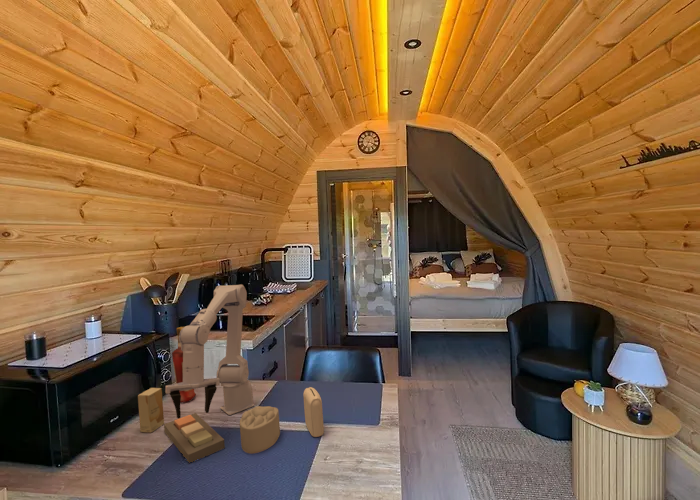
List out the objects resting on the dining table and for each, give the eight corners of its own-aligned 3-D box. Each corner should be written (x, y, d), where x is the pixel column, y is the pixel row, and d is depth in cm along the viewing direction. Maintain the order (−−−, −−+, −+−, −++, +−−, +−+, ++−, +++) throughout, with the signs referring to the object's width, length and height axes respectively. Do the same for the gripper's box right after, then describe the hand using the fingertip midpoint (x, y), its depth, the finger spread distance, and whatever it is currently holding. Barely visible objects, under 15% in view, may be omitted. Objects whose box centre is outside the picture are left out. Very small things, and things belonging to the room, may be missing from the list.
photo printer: (303, 423, 119) (301, 385, 118) (316, 420, 120) (314, 382, 120) (311, 439, 109) (309, 398, 109) (325, 435, 111) (323, 395, 110)
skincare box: (151, 433, 118) (148, 395, 118) (139, 432, 119) (136, 395, 119) (165, 423, 125) (162, 387, 124) (154, 422, 126) (151, 387, 125)
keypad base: (196, 420, 125) (195, 412, 125) (224, 448, 107) (224, 439, 107) (164, 431, 119) (163, 424, 119) (189, 463, 101) (188, 454, 101)
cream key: (198, 428, 116) (197, 421, 116) (203, 433, 113) (203, 427, 113) (181, 434, 113) (181, 428, 113) (186, 440, 109) (186, 434, 109)
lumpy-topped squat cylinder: (283, 429, 116) (281, 402, 116) (269, 454, 103) (266, 423, 103) (251, 429, 117) (249, 402, 117) (233, 453, 104) (231, 423, 104)
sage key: (206, 436, 111) (205, 429, 111) (212, 442, 107) (212, 435, 107) (189, 443, 108) (188, 436, 108) (194, 450, 104) (194, 443, 104)
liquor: (184, 395, 147) (178, 325, 145) (200, 395, 145) (194, 325, 144) (171, 403, 140) (165, 330, 138) (188, 404, 138) (182, 330, 137)
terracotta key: (190, 420, 122) (190, 414, 122) (196, 425, 118) (195, 419, 118) (174, 426, 118) (174, 420, 118) (179, 432, 115) (179, 425, 115)
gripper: (168, 372, 102) (167, 424, 100) (222, 365, 110) (222, 413, 108) (164, 368, 108) (164, 417, 106) (216, 361, 116) (216, 407, 114)
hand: (193, 414), depth 108 cm, fingers open, 7 cm apart
